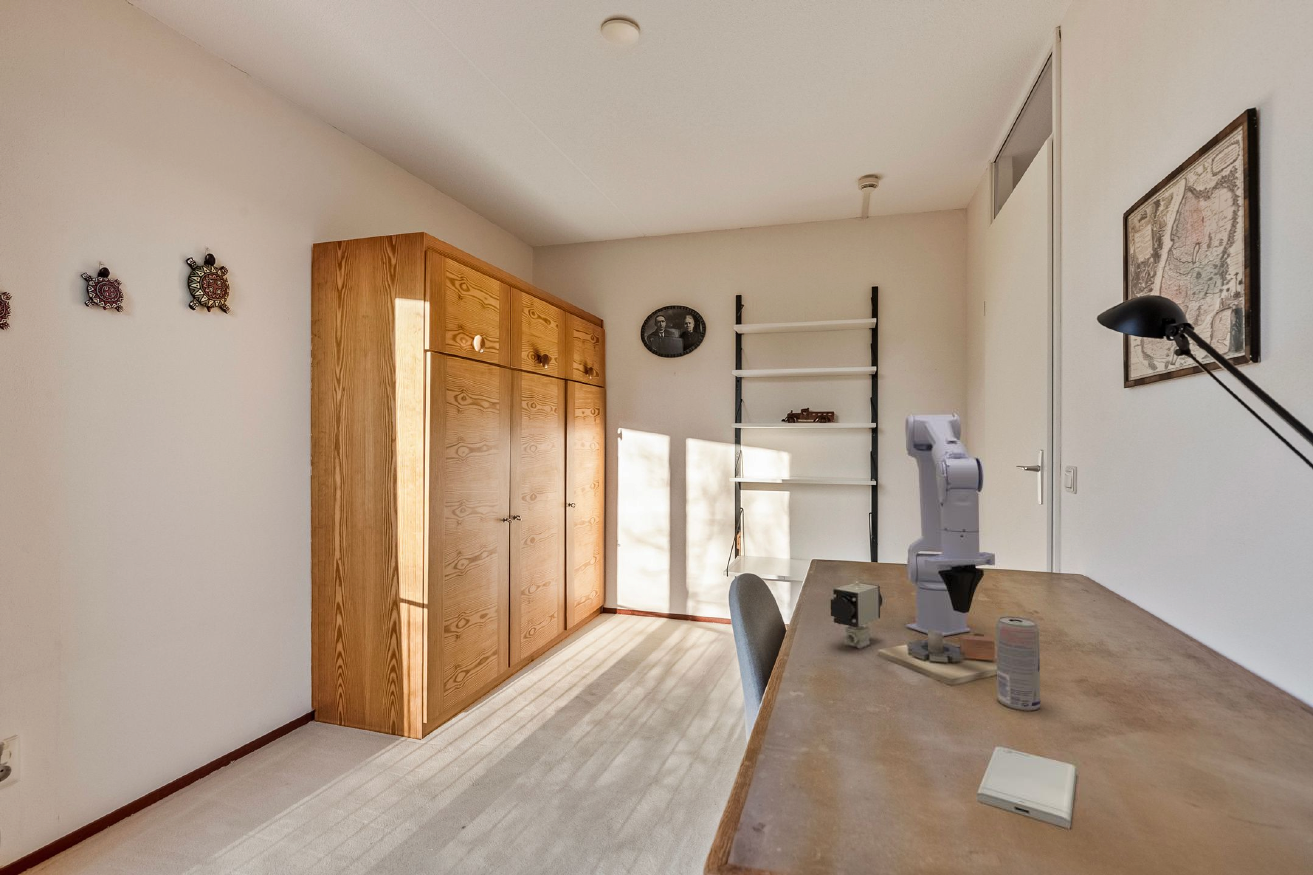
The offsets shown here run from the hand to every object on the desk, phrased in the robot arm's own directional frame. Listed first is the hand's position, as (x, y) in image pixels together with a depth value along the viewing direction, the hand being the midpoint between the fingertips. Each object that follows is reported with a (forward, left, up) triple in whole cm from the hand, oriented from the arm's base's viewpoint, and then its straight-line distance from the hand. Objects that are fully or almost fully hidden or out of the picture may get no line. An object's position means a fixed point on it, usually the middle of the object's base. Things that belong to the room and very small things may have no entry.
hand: (961, 611), depth 103 cm
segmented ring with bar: (-2, -4, -8) cm, 9 cm away
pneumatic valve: (+6, -18, -10) cm, 22 cm away
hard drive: (+24, +28, -11) cm, 38 cm away
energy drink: (+4, +13, -10) cm, 17 cm away
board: (0, -4, -10) cm, 11 cm away
